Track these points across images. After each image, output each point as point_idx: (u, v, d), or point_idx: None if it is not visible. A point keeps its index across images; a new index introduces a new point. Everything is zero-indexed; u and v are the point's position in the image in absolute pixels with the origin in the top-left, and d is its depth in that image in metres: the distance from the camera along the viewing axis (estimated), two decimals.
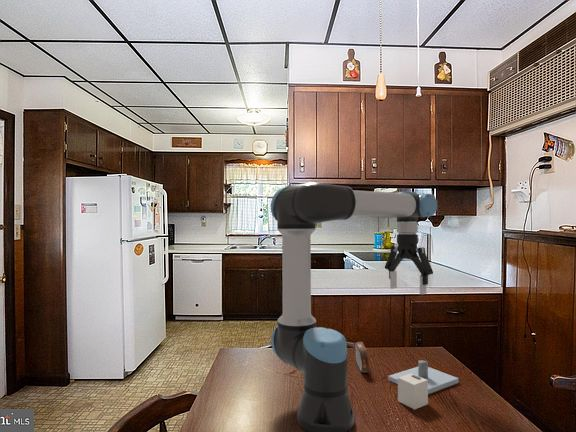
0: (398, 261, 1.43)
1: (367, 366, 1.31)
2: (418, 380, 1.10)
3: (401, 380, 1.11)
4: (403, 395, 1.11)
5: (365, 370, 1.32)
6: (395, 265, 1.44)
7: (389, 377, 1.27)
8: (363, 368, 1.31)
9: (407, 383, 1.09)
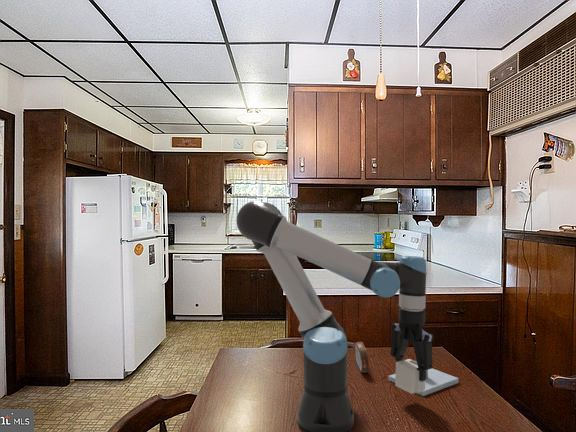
0: (404, 344, 1.14)
1: (367, 366, 1.31)
2: (416, 365, 1.11)
3: (399, 365, 1.12)
4: (401, 380, 1.11)
5: (365, 370, 1.32)
6: (402, 351, 1.14)
7: (389, 377, 1.27)
8: (363, 368, 1.31)
9: (405, 368, 1.10)
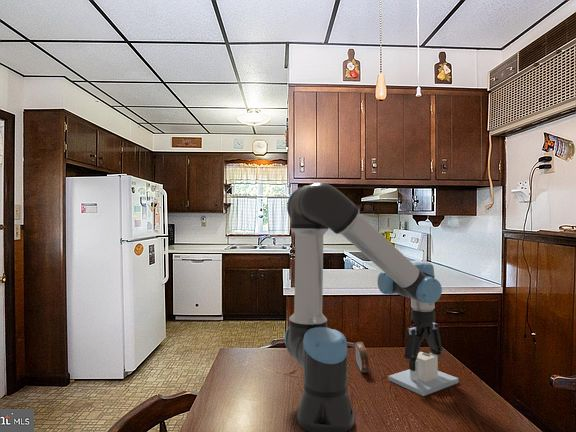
0: (429, 340, 1.28)
1: (367, 366, 1.31)
2: (428, 357, 1.25)
3: None
4: None
5: (365, 370, 1.32)
6: (430, 345, 1.29)
7: (389, 377, 1.27)
8: (363, 368, 1.31)
9: (418, 359, 1.24)
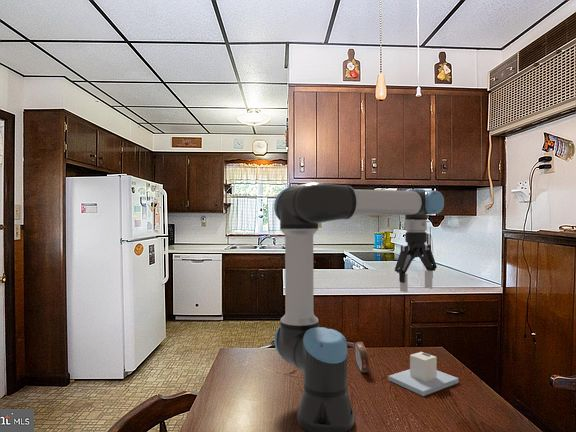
0: (423, 260, 1.40)
1: (367, 366, 1.31)
2: (428, 357, 1.25)
3: (413, 357, 1.26)
4: (415, 370, 1.26)
5: (365, 370, 1.32)
6: (425, 264, 1.41)
7: (389, 377, 1.27)
8: (363, 368, 1.31)
9: (418, 359, 1.24)
